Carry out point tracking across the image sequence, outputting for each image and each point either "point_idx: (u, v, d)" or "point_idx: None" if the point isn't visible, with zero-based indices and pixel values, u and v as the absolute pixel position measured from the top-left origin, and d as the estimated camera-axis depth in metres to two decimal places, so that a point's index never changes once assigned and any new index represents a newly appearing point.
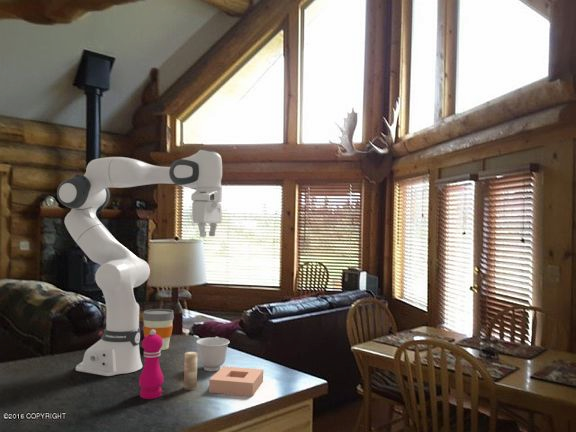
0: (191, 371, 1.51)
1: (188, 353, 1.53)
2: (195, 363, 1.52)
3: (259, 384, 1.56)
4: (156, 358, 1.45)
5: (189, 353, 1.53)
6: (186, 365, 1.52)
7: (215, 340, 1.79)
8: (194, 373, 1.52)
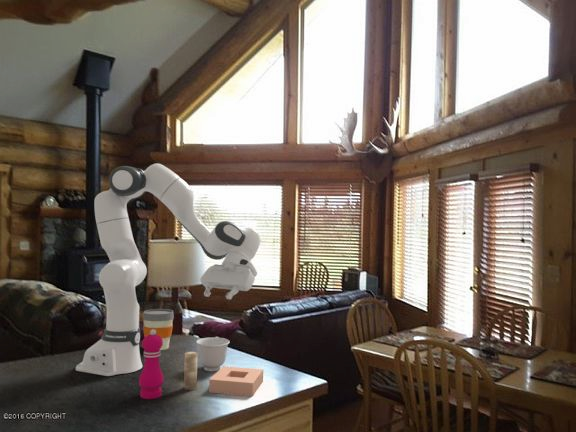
0: (191, 371, 1.51)
1: (188, 353, 1.53)
2: (195, 363, 1.52)
3: (259, 384, 1.56)
4: (156, 358, 1.45)
5: (189, 353, 1.53)
6: (186, 365, 1.52)
7: (215, 340, 1.79)
8: (194, 373, 1.52)
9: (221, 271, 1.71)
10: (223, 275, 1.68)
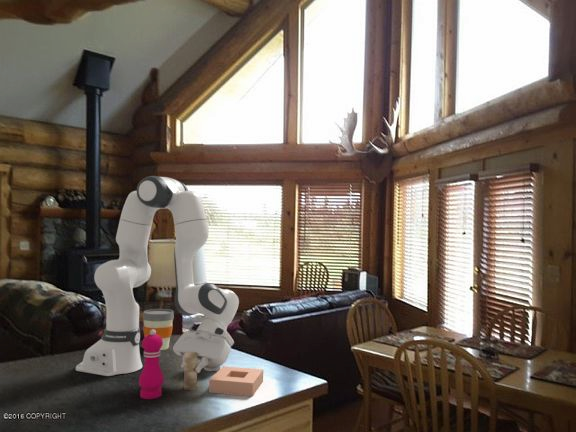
0: (191, 371, 1.51)
1: (188, 353, 1.53)
2: (195, 363, 1.52)
3: (259, 384, 1.56)
4: (156, 358, 1.45)
5: (189, 353, 1.53)
6: (186, 365, 1.52)
7: None
8: (194, 373, 1.52)
9: (195, 339, 1.59)
10: (197, 345, 1.57)
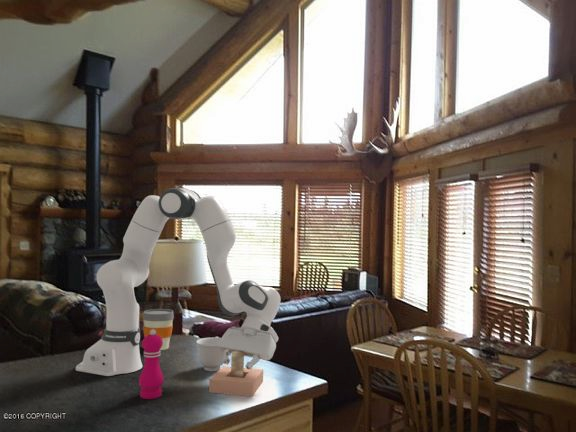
0: (238, 369, 1.54)
1: (235, 352, 1.56)
2: (242, 362, 1.54)
3: (259, 384, 1.56)
4: (156, 358, 1.45)
5: (236, 352, 1.56)
6: (233, 364, 1.54)
7: (215, 340, 1.79)
8: (241, 372, 1.54)
9: (240, 336, 1.62)
10: (242, 341, 1.59)
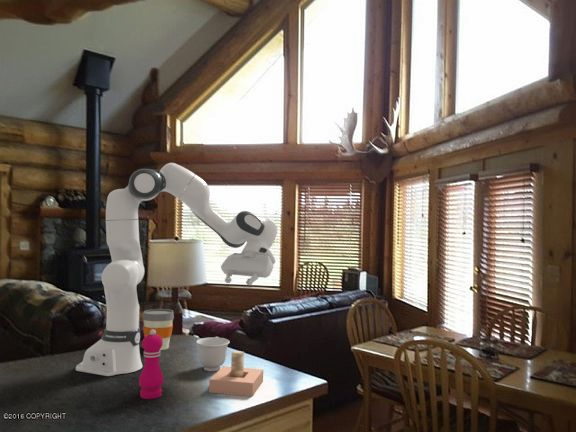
0: (238, 369, 1.54)
1: (235, 352, 1.56)
2: (242, 362, 1.54)
3: (259, 384, 1.56)
4: (156, 358, 1.45)
5: (236, 352, 1.56)
6: (233, 364, 1.54)
7: (215, 340, 1.79)
8: (241, 372, 1.54)
9: (240, 259, 1.79)
10: (243, 263, 1.76)
